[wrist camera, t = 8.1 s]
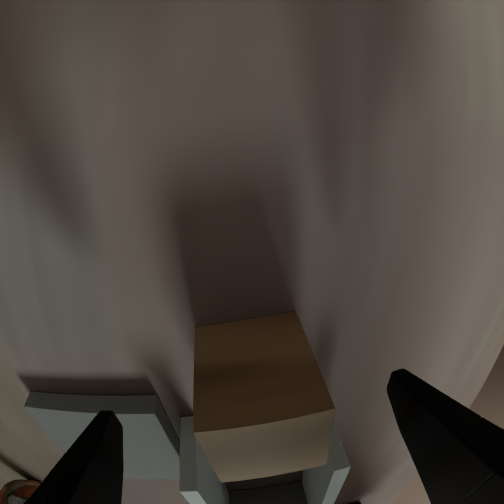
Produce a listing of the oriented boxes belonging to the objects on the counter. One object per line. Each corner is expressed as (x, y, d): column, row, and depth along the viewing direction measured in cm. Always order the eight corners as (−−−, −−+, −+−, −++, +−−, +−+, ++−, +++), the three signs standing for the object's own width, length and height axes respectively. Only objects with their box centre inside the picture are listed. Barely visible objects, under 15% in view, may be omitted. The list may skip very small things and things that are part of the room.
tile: (193, 464, 17) (193, 479, 16) (88, 460, 16) (85, 473, 15) (157, 394, 13) (155, 413, 12) (30, 391, 13) (24, 406, 12)
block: (297, 376, 14) (326, 464, 9) (214, 390, 14) (221, 482, 9) (295, 310, 12) (334, 408, 8) (195, 326, 12) (193, 432, 8)
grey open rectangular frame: (310, 482, 20) (323, 530, 16) (220, 495, 20) (225, 545, 15) (325, 397, 15) (354, 475, 10) (180, 416, 14) (179, 500, 10)
